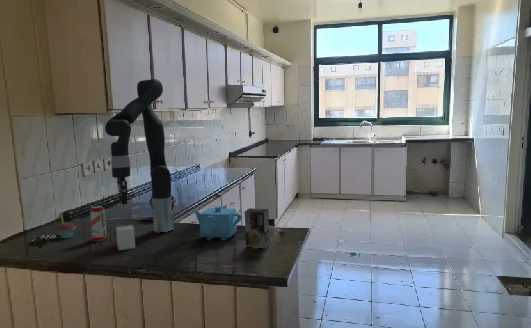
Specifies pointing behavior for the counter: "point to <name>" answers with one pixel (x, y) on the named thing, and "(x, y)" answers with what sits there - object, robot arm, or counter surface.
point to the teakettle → (218, 222)
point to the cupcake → (66, 229)
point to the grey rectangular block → (125, 237)
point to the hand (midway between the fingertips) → (123, 202)
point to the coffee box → (257, 228)
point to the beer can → (98, 223)
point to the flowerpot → (171, 203)
